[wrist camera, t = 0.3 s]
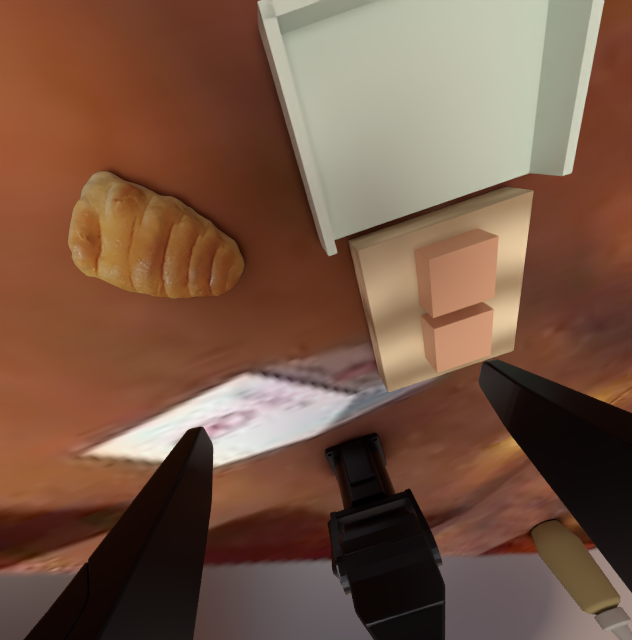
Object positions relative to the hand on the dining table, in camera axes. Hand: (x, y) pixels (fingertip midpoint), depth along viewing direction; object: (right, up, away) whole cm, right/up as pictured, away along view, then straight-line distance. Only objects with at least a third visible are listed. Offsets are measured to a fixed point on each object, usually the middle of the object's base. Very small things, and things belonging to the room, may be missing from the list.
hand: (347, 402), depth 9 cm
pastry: (-11, +8, +10) cm, 17 cm away
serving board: (+9, +5, +15) cm, 18 cm away
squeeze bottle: (+46, -40, +49) cm, 78 cm away
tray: (+5, +15, +8) cm, 18 cm away
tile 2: (+8, +6, +11) cm, 15 cm away
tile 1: (+10, +2, +14) cm, 18 cm away
